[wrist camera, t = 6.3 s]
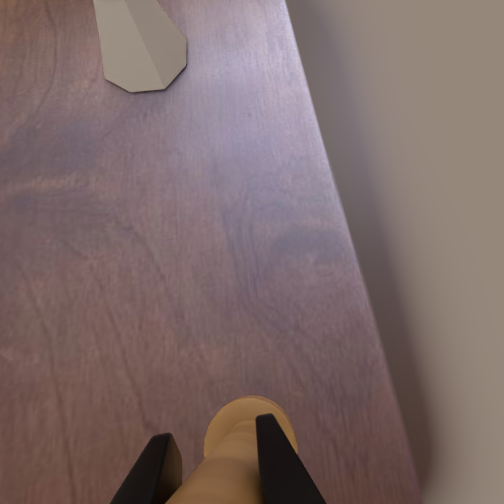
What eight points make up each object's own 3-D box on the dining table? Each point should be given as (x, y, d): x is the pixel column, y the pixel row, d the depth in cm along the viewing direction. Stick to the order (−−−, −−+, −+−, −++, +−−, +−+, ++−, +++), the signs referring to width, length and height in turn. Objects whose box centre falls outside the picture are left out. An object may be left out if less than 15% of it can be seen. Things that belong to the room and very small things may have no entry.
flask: (124, 24, 32) (59, -123, 22) (200, 35, 31) (164, -115, 21) (92, 87, 30) (4, -46, 20) (172, 102, 29) (119, -32, 19)
